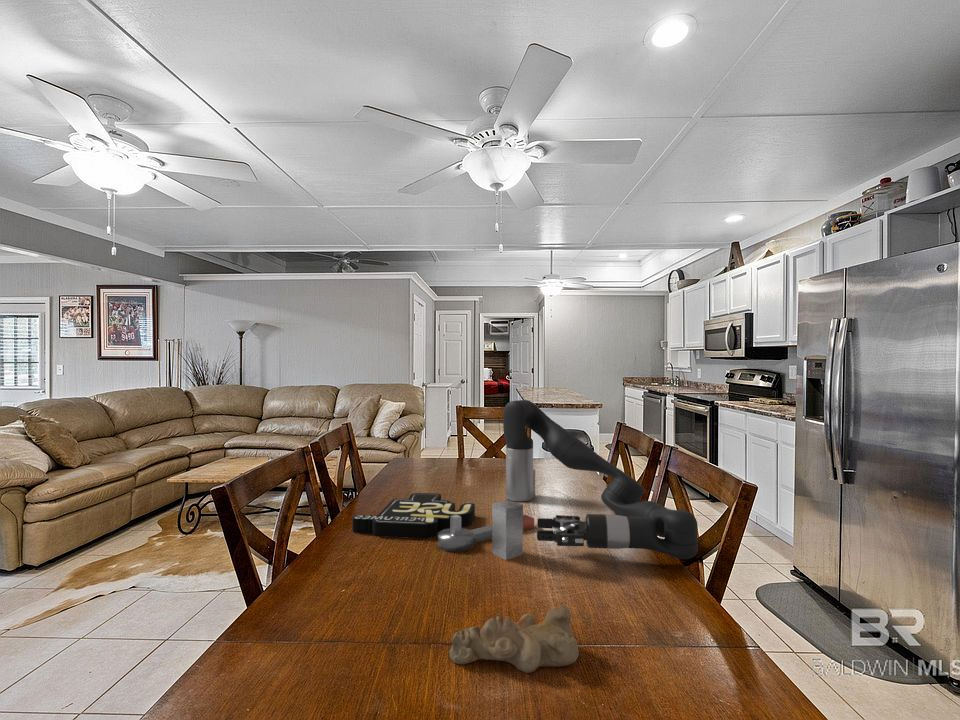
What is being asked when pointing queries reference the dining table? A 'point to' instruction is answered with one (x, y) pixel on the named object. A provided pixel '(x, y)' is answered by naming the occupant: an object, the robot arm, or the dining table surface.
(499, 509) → the brushed aluminum block
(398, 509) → the sign
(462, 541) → the ratchet
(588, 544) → the robot arm
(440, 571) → the dining table surface
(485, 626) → the figurine
